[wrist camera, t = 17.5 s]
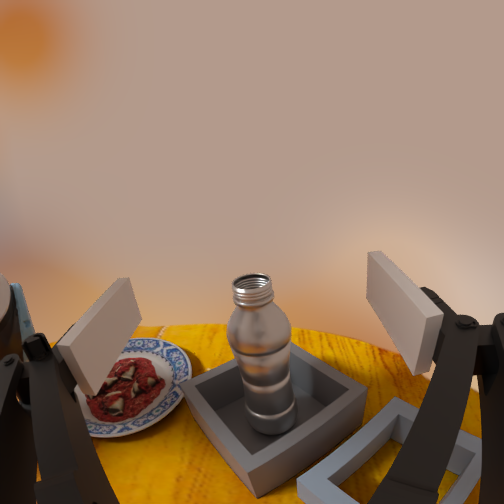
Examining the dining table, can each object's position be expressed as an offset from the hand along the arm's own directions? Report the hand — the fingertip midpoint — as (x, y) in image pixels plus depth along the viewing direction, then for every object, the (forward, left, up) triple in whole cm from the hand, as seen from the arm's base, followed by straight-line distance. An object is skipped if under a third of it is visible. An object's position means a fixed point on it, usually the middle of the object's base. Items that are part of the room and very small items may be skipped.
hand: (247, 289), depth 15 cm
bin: (-9, +5, -25) cm, 27 cm away
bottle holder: (+9, +8, -25) cm, 28 cm away
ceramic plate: (-30, -11, -26) cm, 41 cm away
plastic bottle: (-9, +5, -24) cm, 27 cm away
